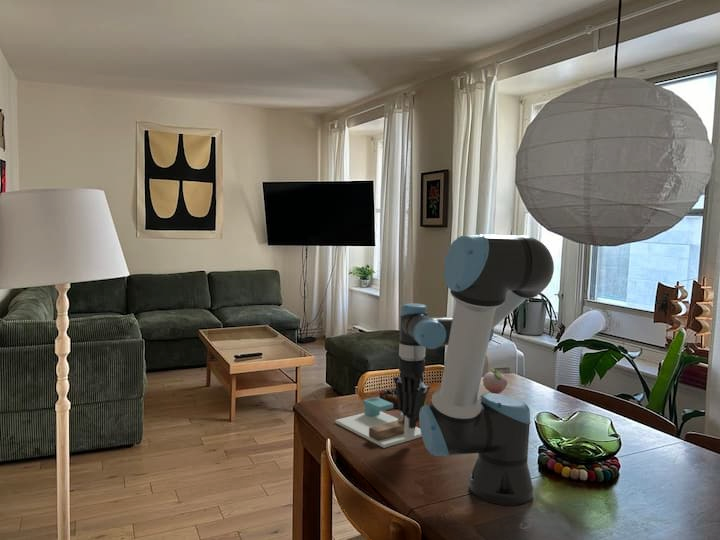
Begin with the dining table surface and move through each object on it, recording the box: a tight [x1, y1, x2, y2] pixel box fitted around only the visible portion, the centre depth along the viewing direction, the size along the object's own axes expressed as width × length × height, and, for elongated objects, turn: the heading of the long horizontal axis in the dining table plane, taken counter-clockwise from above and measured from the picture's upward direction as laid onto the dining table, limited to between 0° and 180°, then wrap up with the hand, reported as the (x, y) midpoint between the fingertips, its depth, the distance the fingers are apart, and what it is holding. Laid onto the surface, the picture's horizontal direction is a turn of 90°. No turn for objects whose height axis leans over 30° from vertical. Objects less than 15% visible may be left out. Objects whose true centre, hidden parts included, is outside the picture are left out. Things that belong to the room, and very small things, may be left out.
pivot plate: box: [335, 411, 422, 449], centre depth 180 cm, size 24×18×6 cm
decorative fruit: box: [482, 368, 508, 394], centre depth 218 cm, size 9×8×10 cm
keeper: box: [363, 396, 394, 417], centre depth 188 cm, size 8×6×6 cm
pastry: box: [379, 387, 403, 409], centre depth 205 cm, size 11×12×6 cm
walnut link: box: [369, 417, 415, 440], centre depth 174 cm, size 16×6×2 cm, turn 128°
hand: (409, 437), depth 167 cm, fingers closed
